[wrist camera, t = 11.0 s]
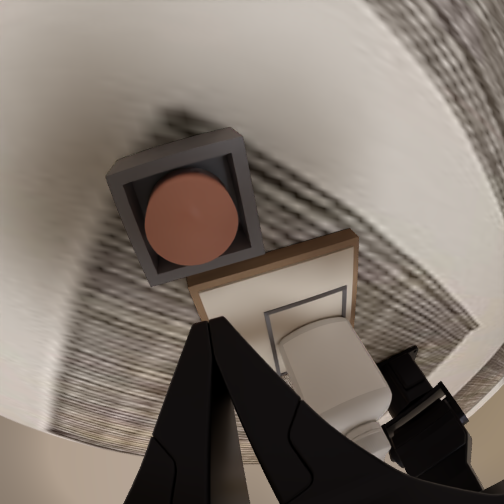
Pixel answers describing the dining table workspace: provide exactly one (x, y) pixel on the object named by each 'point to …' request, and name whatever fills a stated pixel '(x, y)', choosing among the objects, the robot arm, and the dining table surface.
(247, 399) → the robot arm
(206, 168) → the button housing
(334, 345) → the eye dropper bottle
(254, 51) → the dining table surface
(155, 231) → the button
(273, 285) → the board
